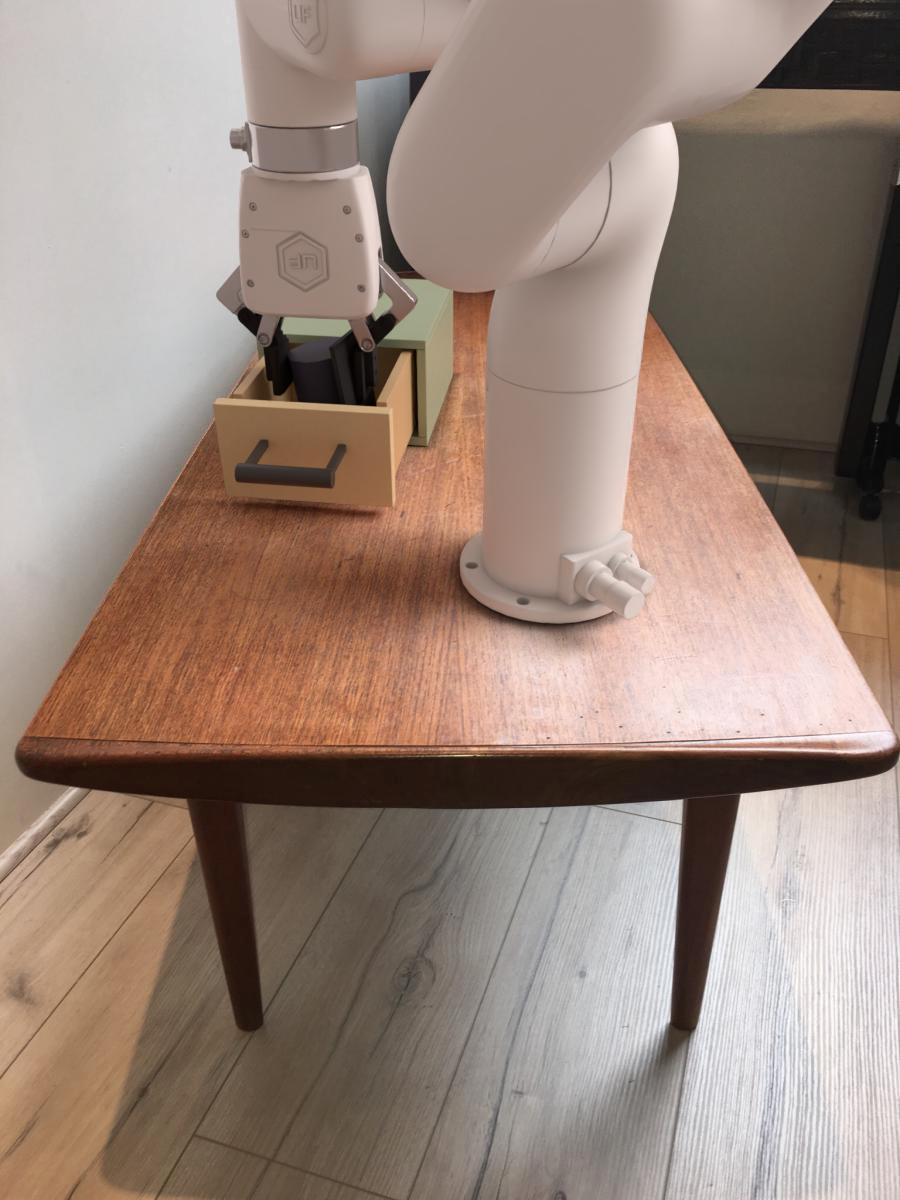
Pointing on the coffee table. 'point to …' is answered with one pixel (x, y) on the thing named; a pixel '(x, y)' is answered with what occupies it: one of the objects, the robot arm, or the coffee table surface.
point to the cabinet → (404, 345)
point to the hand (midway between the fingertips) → (323, 389)
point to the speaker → (327, 372)
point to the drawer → (318, 438)
